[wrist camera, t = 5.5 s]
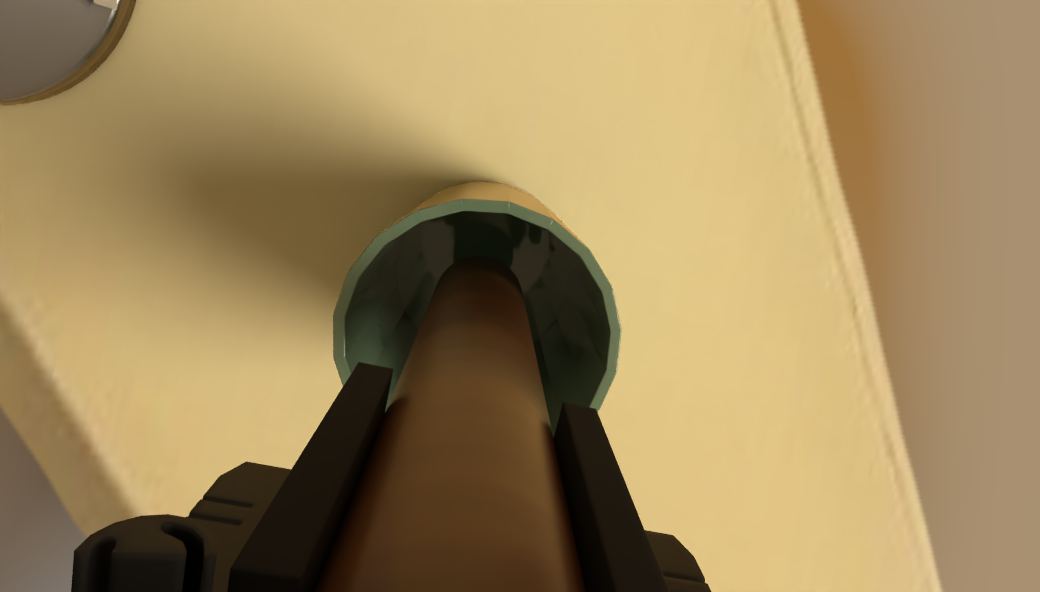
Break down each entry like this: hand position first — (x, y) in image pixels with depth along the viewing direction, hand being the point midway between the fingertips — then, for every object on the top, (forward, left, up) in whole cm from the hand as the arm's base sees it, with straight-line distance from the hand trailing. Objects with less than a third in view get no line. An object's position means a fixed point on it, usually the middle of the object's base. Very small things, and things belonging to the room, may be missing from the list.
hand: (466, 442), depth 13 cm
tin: (0, 0, -20) cm, 20 cm away
